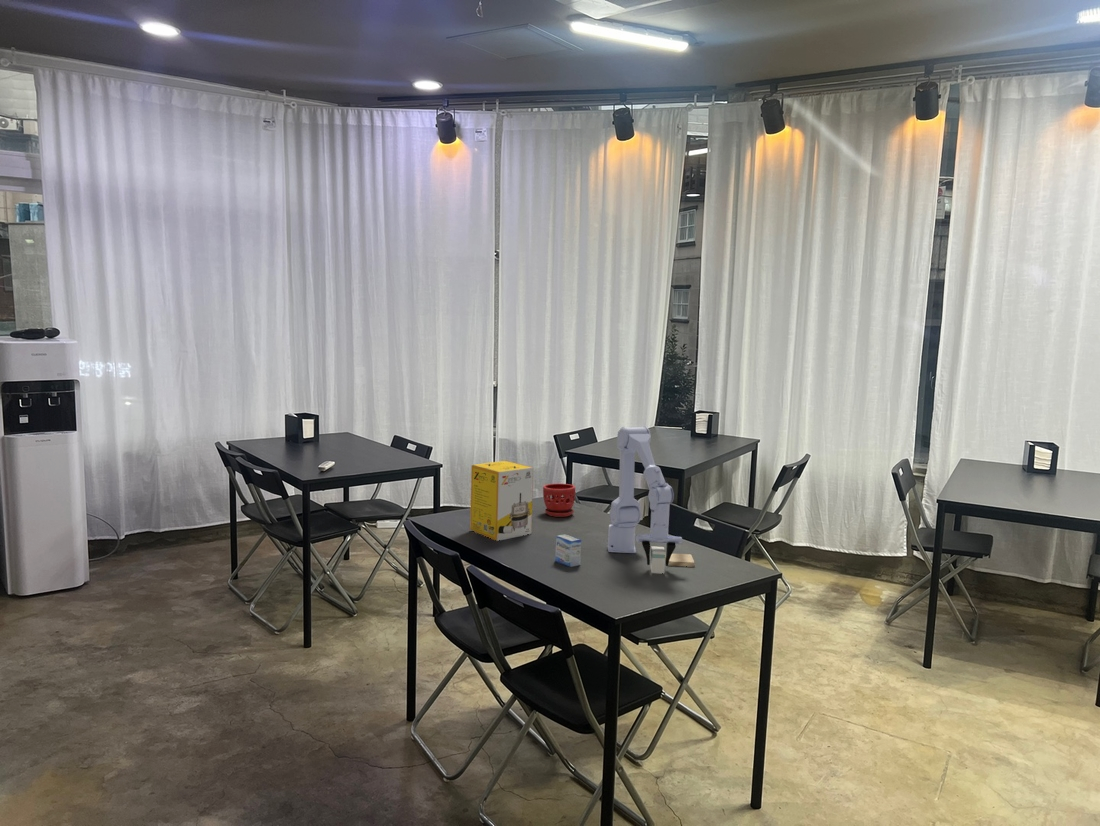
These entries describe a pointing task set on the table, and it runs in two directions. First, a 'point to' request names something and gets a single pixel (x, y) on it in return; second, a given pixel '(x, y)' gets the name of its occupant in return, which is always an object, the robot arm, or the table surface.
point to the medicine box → (568, 550)
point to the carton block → (657, 559)
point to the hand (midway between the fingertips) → (657, 564)
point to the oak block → (681, 560)
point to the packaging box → (501, 499)
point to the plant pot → (559, 499)
